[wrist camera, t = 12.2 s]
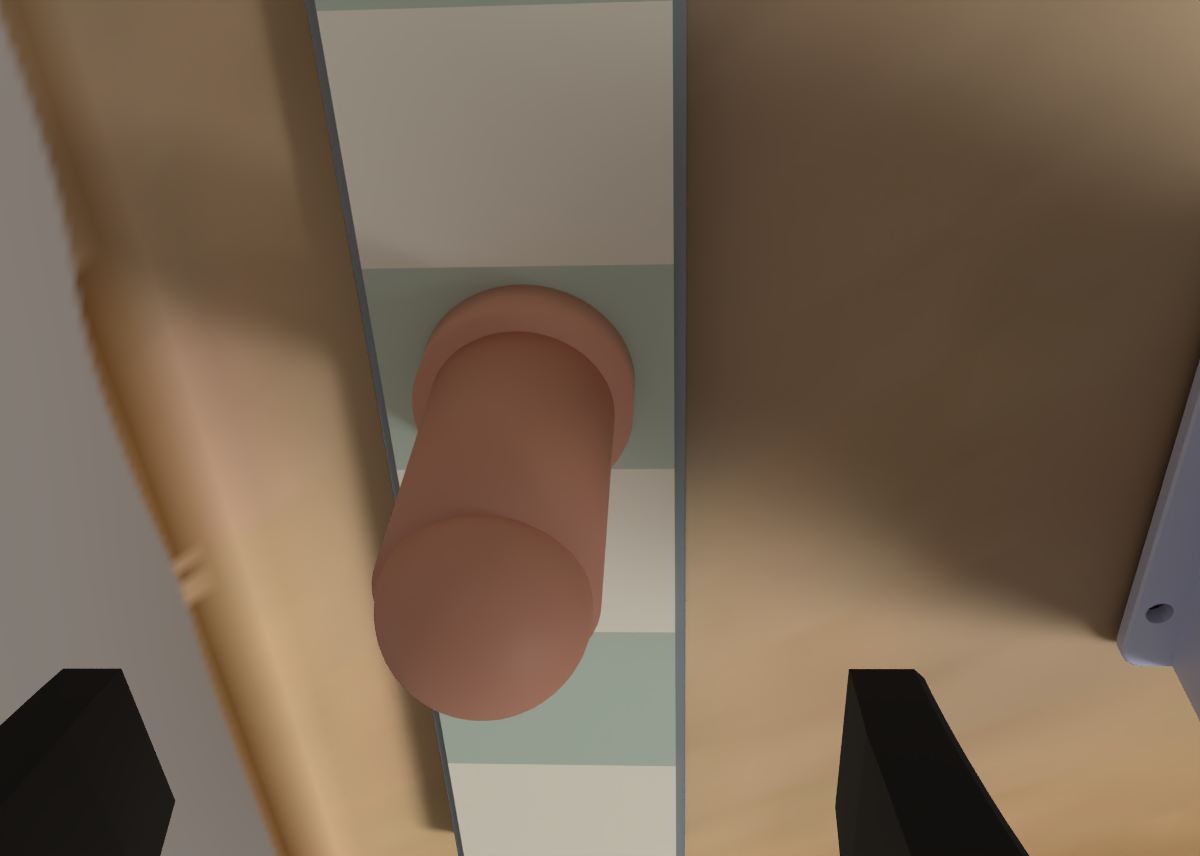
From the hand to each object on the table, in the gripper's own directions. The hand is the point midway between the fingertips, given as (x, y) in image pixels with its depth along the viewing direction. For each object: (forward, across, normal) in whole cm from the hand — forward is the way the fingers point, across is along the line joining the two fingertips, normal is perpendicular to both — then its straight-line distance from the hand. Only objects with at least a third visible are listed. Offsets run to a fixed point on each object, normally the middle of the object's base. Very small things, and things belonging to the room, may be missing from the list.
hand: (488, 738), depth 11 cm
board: (+10, +1, +3) cm, 10 cm away
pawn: (+9, +1, +1) cm, 9 cm away
